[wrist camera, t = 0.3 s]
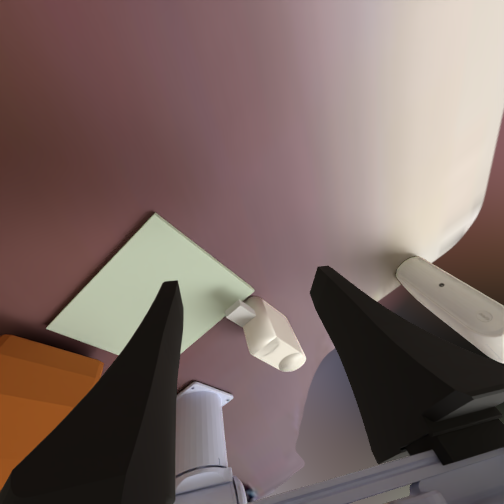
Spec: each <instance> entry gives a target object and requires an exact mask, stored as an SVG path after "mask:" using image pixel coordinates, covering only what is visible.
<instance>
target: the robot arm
mask: <svg viewBox="0 0 504 504" xmlns="http://www.w3.org/2000/svg"><path fill="white" fill-rule="evenodd" d="M310 295H311V298H312V301H313V303H314V306H315V309H316V311H317V313H318V315H319V317H320V319H321V321H322V323H323V325H324V327H325V329H326V331H327V332H328V334H329V336H330V338H331V340H332V342H333V344H334V346H335V348H336V350H337V352H338V354H339V356H340V359H341V361H342V364H343V366H344V369H345V371H346V374H347V376H348V379H349V382H350V384H351V387H352V390H353V393H354V395H355V398H356V401H357V404H358V407H359V410H360V413H361V416H362V419H363V423H364V426H365V429H366V432H367V436H368V439H369V443H370V446H371V450H372V452H373V455H374V457H375V459H376V461H377V463H378V464H381V465H377V466H374V467H370V468H367V469H364V470H360V471H357V472H353V473H350V474H346V475H343V476H339V477H336V478H333V479H329V480H326V481H322V482H319V483H315V484H312V485H308V486H305V487H301V488H298V489H294V490H291V491H288V492H284V493H281V494H277V495H274V496H270V497H267V498H263V499H260V500H256V501H253V502H249V503H247V499H246V494H245V490H244V486H243V484H242V482H241V481H240V480H239V478H238V477H237V476H232V469H231V467H229V468H228V464H227V454H226V444H225V434H224V424H223V414H222V406H224V405H225V404H226V403H228V402H229V401H230V400H232V399H233V395H232V394H229V393H226V392H224V391H221V390H218V389H215V388H213V387H210V386H207V385H205V384H202V383H199V382H193V383H191V384H190V385H189V386H188V387H186V388H185V389H184V390H183V391H181V392H180V393H179V394H178V395H177V378H178V368H179V360H180V352H181V344H182V336H183V322H184V307H183V303H182V298H181V293H180V289H179V284H178V280H175V281H165V282H163V283H162V285H161V287H160V289H159V292H158V294H157V296H156V298H155V299H154V301H153V303H152V305H151V307H150V309H149V310H148V312H147V314H146V315H145V317H144V319H143V320H142V322H141V324H140V325H139V327H138V328H137V330H136V331H135V333H134V334H133V336H132V337H131V339H130V340H129V342H128V343H127V345H126V346H125V347H124V349H123V350H122V352H121V353H120V354H119V356H118V357H117V358H116V360H115V361H114V362H113V363H112V365H111V366H110V367H109V368H108V370H107V371H106V372H105V373H104V374H103V376H102V377H101V378H100V379H99V381H98V382H97V383H96V384H95V385H94V386H93V388H92V389H91V390H90V391H89V392H88V393H87V394H86V395H85V397H84V398H83V399H82V400H81V401H80V402H79V403H78V404H77V405H76V406H75V407H74V408H73V410H72V411H71V412H70V413H69V414H68V415H67V416H66V417H65V418H64V419H63V420H62V421H61V422H60V423H59V424H58V425H57V426H56V428H55V429H54V430H53V431H52V432H51V433H50V434H48V435H47V436H46V437H45V438H44V439H43V440H42V441H41V442H40V443H39V444H38V445H37V446H36V447H35V448H34V449H33V450H32V451H31V452H30V453H29V454H28V455H27V456H26V457H25V458H24V459H23V460H22V461H21V462H20V463H19V464H18V465H17V466H16V467H15V468H14V469H13V470H12V472H11V473H10V475H9V477H8V479H7V481H6V482H5V484H4V486H3V488H2V489H1V491H0V504H349V503H352V502H355V501H358V500H361V499H365V498H368V497H371V496H374V495H377V494H380V493H383V492H386V491H390V490H393V489H396V488H399V487H402V486H406V485H408V484H411V485H410V495H409V496H408V497H404V498H401V499H397V500H394V501H391V502H387V503H384V504H504V424H503V423H502V422H501V421H500V420H499V419H498V418H501V417H502V414H501V413H500V412H499V411H498V409H497V408H496V407H495V406H496V405H498V404H500V403H502V402H504V367H503V366H502V365H501V364H499V363H497V362H494V361H492V360H490V359H487V358H485V357H482V356H480V355H477V354H475V353H472V352H470V351H467V350H465V349H462V348H460V347H458V346H456V345H454V344H452V343H449V342H447V341H445V340H443V339H441V338H439V337H437V336H435V335H433V334H431V333H429V332H427V331H425V330H423V329H421V328H419V327H417V326H416V325H414V324H412V323H410V322H408V321H407V320H405V319H403V318H401V317H400V316H398V315H397V314H395V313H393V312H391V311H390V310H388V309H387V308H385V307H384V306H382V305H381V304H379V303H378V302H376V301H375V300H374V299H372V298H371V297H369V296H368V295H367V294H365V293H364V292H362V291H361V290H360V289H358V288H357V287H356V286H354V285H353V284H352V283H351V282H349V281H348V280H347V279H345V278H344V277H343V276H341V275H340V274H339V273H338V272H336V271H335V270H334V269H332V268H331V267H329V266H321V267H318V268H317V271H316V275H315V278H314V281H313V284H312V287H311V291H310ZM406 456H409V457H406ZM403 457H405V458H403ZM399 458H402V459H399ZM396 459H398V460H396ZM392 460H395V461H392ZM389 461H392V462H389ZM385 462H388V463H385ZM382 463H384V464H382Z"/></svg>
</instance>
